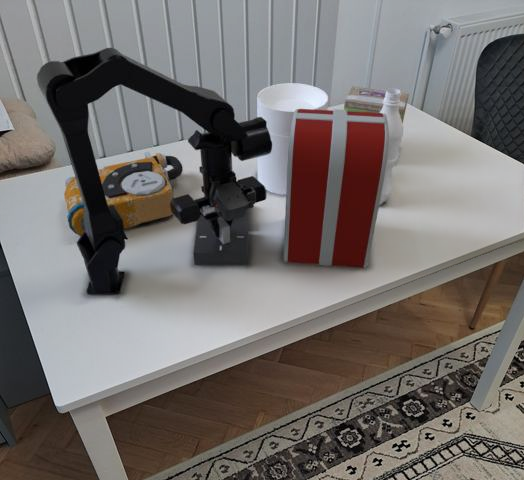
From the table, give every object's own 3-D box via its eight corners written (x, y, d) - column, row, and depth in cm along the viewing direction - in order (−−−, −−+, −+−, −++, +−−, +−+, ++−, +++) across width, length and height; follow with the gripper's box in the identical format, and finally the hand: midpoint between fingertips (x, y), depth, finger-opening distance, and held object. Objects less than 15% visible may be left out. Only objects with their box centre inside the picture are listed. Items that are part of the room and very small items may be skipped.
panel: (247, 265, 108) (247, 252, 106) (194, 265, 108) (193, 252, 106) (248, 234, 116) (248, 221, 113) (198, 234, 116) (197, 221, 113)
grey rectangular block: (230, 242, 108) (229, 224, 105) (223, 244, 108) (222, 226, 105) (219, 230, 111) (218, 212, 108) (213, 232, 111) (211, 214, 108)
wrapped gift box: (288, 218, 120) (294, 96, 100) (366, 223, 119) (387, 100, 99) (282, 262, 109) (287, 135, 89) (368, 268, 107) (392, 140, 88)
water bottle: (354, 203, 124) (370, 94, 106) (365, 189, 129) (382, 82, 110) (383, 211, 122) (405, 100, 104) (393, 196, 126) (415, 88, 108)
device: (47, 163, 120) (172, 138, 129) (58, 195, 126) (176, 170, 135) (65, 212, 106) (203, 181, 115) (75, 246, 112) (206, 214, 121)
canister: (331, 188, 129) (341, 105, 114) (271, 200, 125) (273, 116, 110) (304, 158, 139) (309, 79, 124) (248, 169, 135) (246, 88, 120)
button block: (248, 231, 116) (248, 215, 113) (199, 231, 116) (197, 216, 113) (249, 206, 123) (248, 191, 120) (202, 207, 123) (200, 191, 120)
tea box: (337, 156, 140) (343, 100, 129) (344, 140, 146) (351, 84, 136) (393, 165, 137) (405, 107, 126) (398, 147, 144) (409, 91, 133)
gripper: (188, 198, 90) (197, 270, 101) (281, 171, 96) (279, 242, 108) (164, 170, 97) (174, 240, 108) (252, 147, 103) (253, 215, 114)
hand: (221, 235), depth 109 cm, fingers closed on grey rectangular block, 2 cm apart
